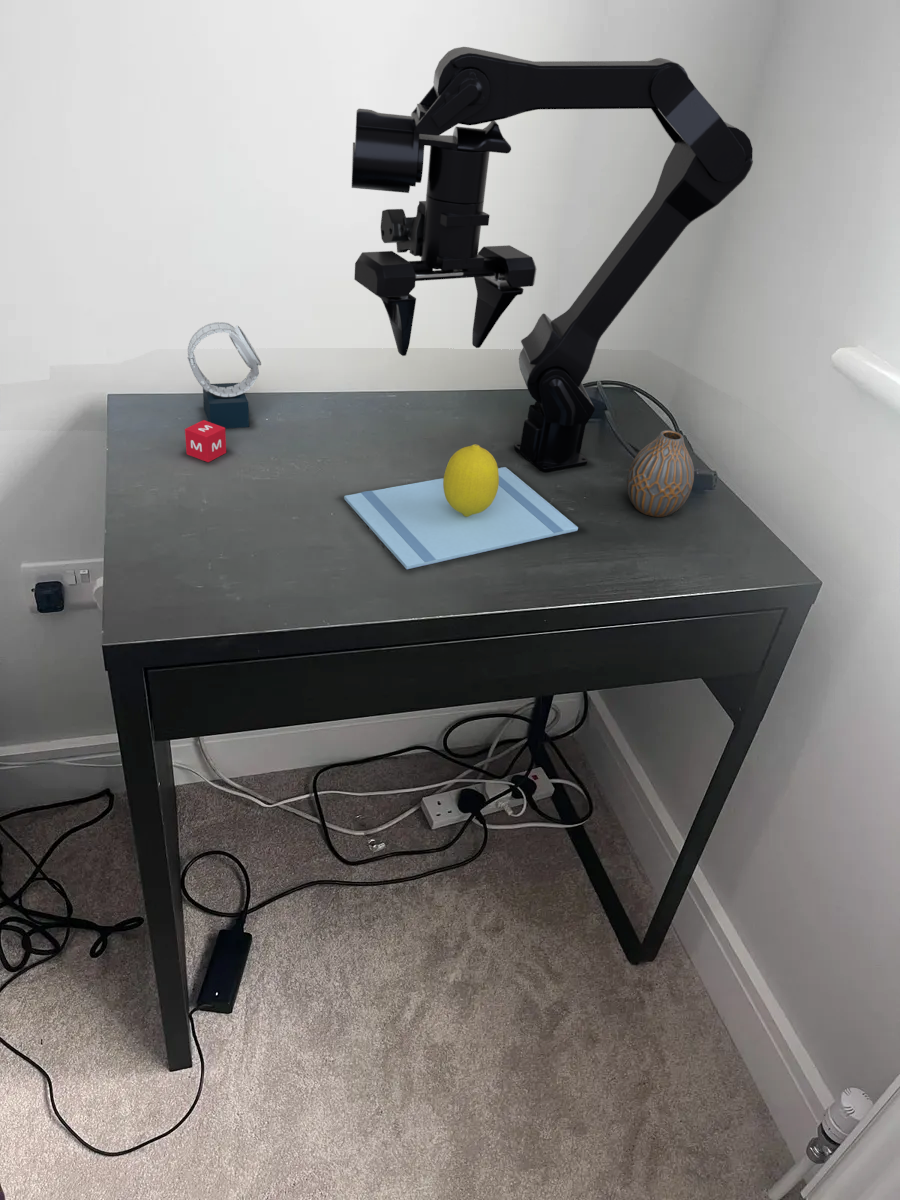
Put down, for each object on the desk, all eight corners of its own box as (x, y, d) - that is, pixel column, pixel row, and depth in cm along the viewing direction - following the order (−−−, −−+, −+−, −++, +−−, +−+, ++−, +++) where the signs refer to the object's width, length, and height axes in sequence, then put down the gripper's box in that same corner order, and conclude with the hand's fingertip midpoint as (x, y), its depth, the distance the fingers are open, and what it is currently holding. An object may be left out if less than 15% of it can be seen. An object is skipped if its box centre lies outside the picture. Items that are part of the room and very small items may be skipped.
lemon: (488, 534, 91) (499, 462, 87) (434, 523, 92) (442, 451, 87) (497, 508, 96) (508, 438, 91) (445, 498, 96) (453, 428, 92)
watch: (265, 426, 107) (264, 333, 100) (195, 430, 104) (189, 335, 98) (256, 406, 111) (255, 316, 105) (188, 409, 108) (182, 317, 102)
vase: (615, 513, 98) (633, 439, 93) (627, 486, 104) (645, 415, 99) (678, 530, 97) (700, 456, 92) (688, 502, 102) (709, 430, 97)
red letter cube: (204, 444, 101) (203, 419, 100) (226, 452, 100) (225, 427, 99) (186, 454, 99) (184, 428, 97) (208, 462, 98) (206, 437, 96)
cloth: (505, 469, 104) (505, 466, 104) (577, 530, 95) (578, 527, 94) (344, 499, 95) (344, 495, 95) (406, 569, 85) (407, 565, 85)
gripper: (491, 177, 100) (474, 318, 109) (334, 178, 91) (330, 331, 100) (550, 203, 92) (526, 352, 101) (384, 207, 84) (374, 370, 93)
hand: (439, 350), depth 99 cm, fingers open, 9 cm apart
